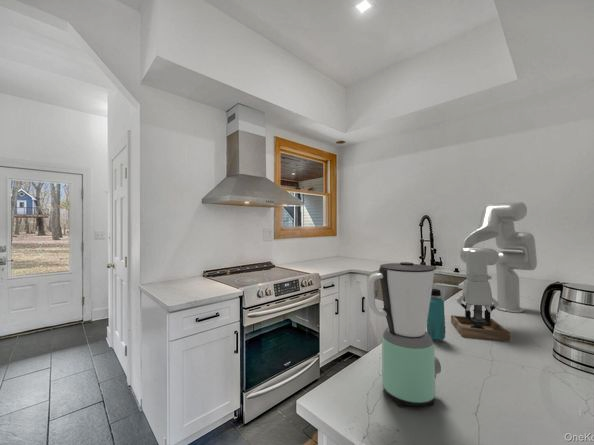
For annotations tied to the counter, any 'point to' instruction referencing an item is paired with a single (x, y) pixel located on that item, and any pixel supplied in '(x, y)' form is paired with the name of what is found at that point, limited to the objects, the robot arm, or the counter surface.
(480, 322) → the dark grey rounded piece
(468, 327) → the tray
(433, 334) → the beverage bottle
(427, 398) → the mint green blender
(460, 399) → the counter surface
